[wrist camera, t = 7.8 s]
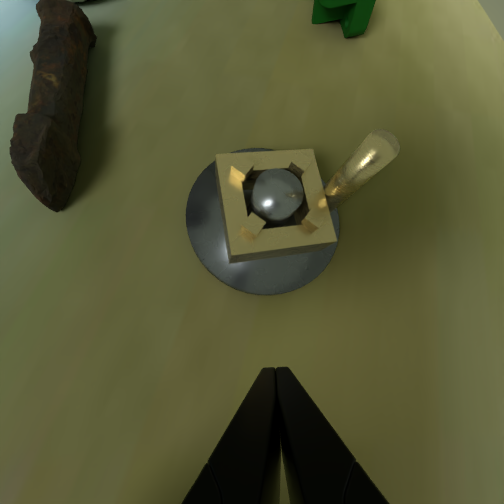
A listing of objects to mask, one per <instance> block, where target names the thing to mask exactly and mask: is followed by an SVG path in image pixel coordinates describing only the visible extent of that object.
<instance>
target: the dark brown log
mask: <svg viewBox="0 0 504 504" xmlns="http://www.w3.org/2000/svg"><path fill="white" fill-rule="evenodd" d="M36 10H37V13H38V15H39V17H40V19H41V26H40V31H39V38H38V42H37V43H36V44H35V45H34V46H33V50H32V51H31V52H30V57H31V60H32V62H33V64H34V69H33V76H32V81H31V89H30V94H29V103H28V112H27V113H26V114H17V115H16V117H15V122H14V125H13V132H14V134H13V138H12V139H11V140H10V142H11V147H10V156H11V159H12V162H11V163H12V164H13V166H14V167H15V170H16V171H17V175H18V177H19V178H20V179H21V180H22V182H23V183H24V184H25V185H26V186H27V188H28V189H29V190H30V191H31V193H32V194H33V195H34V196H35V197H36V198H37V199H38V200H39V201H40V202H41V203H42V204H44V205H45V206H46V207H48V208H49V209H51V210H53V211H55V212H59V211H60V210H62V208H63V207H64V206H65V204H66V201H67V199H68V197H69V194H70V192H71V190H72V188H73V184H74V182H75V176H76V174H77V171H78V168H79V165H80V162H81V156H80V154H79V152H78V149H77V141H78V131H79V125H80V118H81V115H82V111H83V94H84V86H85V82H86V75H87V72H88V71H87V60H88V48H89V47H92V48H93V47H95V43H96V39H97V37H96V35H95V34H94V31H93V28H92V26H91V24H90V22H89V20H88V18H87V16H86V15H85V14H84V13H83V11H82V9H81V8H79V6H78V5H76V4H75V3H74V2H71V1H67V0H40V1H39V2H38V3H37V4H36Z"/></svg>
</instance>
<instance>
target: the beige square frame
mask: <svg viewBox="0 0 504 504" xmlns="http://www.w3.org/2000/svg"><path fill="white" fill-rule="evenodd" d="M399 152H400V144H399V142H398V140H397V138H396V137H395V136H394V135H393V134H392V133H390V132H389V131H387V130H384V129H376V130H373V131H372V132H371V133H370V134H369V135H368V136H367V137H366V138H365V139H364V141H363V142H362V143H361V144H360V145H359V146H358V148H357V149H356V150H355V151H354V152H353V153H352V154H351V156H350V157H349V158H348V159H347V160H346V161H345V163H344V164H343V165H342V166H341V167H340V168H339V170H338V171H337V172H336V173H335V174H334V175H333V176H332V178H331V179H330V180H329V181H328V182H327V183H326V185H325V186H324V187H323V185H322V182H321V178H320V174H319V170H318V166H317V163H316V159H315V155H314V151H313V149H299V150H281V151H262V152H244V153H225V154H215V176H216V183H217V189H218V196H219V202H220V209H221V215H222V222H223V228H224V235H225V241H226V247H227V254H228V260H229V264H233V263H240V262H247V261H254V260H261V259H268V258H275V257H282V256H289V255H296V254H303V253H310V252H317V251H321V250H323V249H324V248H326V247H328V246H330V245H331V244H333V243H335V242H337V238H336V234H335V231H334V227H333V223H332V219H331V216H330V213H331V212H332V211H333V210H335V209H336V208H337V207H338V206H339V205H340V204H342V203H343V202H344V201H345V200H346V199H347V198H349V197H350V196H351V195H352V194H353V193H354V192H356V191H357V190H358V189H359V188H360V187H361V186H363V185H364V184H365V183H366V182H367V181H368V180H370V179H371V178H372V177H373V176H374V175H375V174H377V173H378V172H379V171H380V170H381V169H382V168H384V167H385V166H386V165H387V164H388V163H389V162H391V161H392V160H393V159H394V158H395V157H396V156H397V155H398V154H399ZM274 168H279V169H284V170H287V171H289V172H291V173H292V174H294V175H295V176H296V177H297V178H298V180H299V181H300V183H301V185H302V187H303V194H304V195H303V200H302V203H301V204H300V206H299V207H298V208H297V210H296V211H295V212H294V217H295V221H296V225H295V226H287V227H279V228H270V229H262V228H263V227H264V225H265V224H266V222H265V221H264V220H262V219H261V218H259V217H258V216H257V215H255V214H254V213H251V214H250V215H249V216H247V210H246V205H245V199H244V194H243V190H252V189H254V185H255V182H256V180H257V178H258V177H259V175H260V174H261V173H263V172H264V171H266V170H269V169H274Z"/></svg>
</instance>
